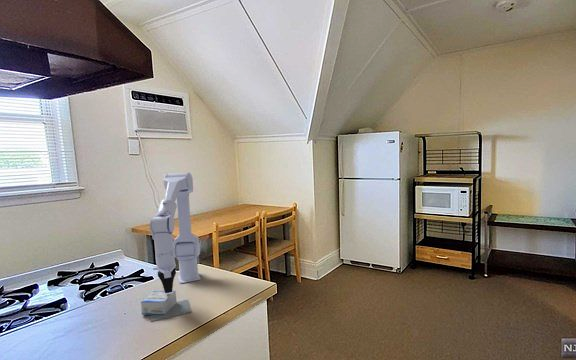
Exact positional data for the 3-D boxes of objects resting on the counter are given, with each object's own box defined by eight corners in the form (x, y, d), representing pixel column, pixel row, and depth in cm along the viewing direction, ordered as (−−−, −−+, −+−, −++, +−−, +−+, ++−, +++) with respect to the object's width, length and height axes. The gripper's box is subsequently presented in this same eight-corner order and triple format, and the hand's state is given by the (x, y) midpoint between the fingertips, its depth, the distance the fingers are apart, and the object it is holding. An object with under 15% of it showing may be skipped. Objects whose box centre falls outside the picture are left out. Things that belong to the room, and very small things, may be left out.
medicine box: (176, 290, 112) (163, 301, 103) (177, 302, 112) (165, 315, 103) (154, 290, 113) (140, 301, 104) (155, 303, 113) (141, 315, 104)
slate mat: (150, 308, 109) (150, 307, 109) (187, 300, 114) (187, 299, 114) (150, 321, 100) (150, 320, 100) (191, 312, 105) (191, 311, 105)
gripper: (151, 248, 113) (155, 286, 114) (152, 260, 99) (156, 303, 101) (173, 245, 115) (176, 282, 117) (176, 256, 102) (180, 298, 103)
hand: (168, 292), depth 109 cm, fingers closed
